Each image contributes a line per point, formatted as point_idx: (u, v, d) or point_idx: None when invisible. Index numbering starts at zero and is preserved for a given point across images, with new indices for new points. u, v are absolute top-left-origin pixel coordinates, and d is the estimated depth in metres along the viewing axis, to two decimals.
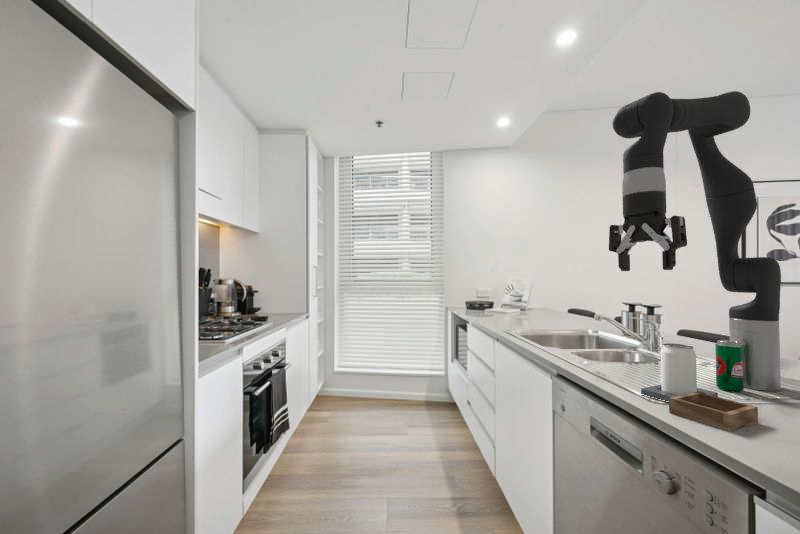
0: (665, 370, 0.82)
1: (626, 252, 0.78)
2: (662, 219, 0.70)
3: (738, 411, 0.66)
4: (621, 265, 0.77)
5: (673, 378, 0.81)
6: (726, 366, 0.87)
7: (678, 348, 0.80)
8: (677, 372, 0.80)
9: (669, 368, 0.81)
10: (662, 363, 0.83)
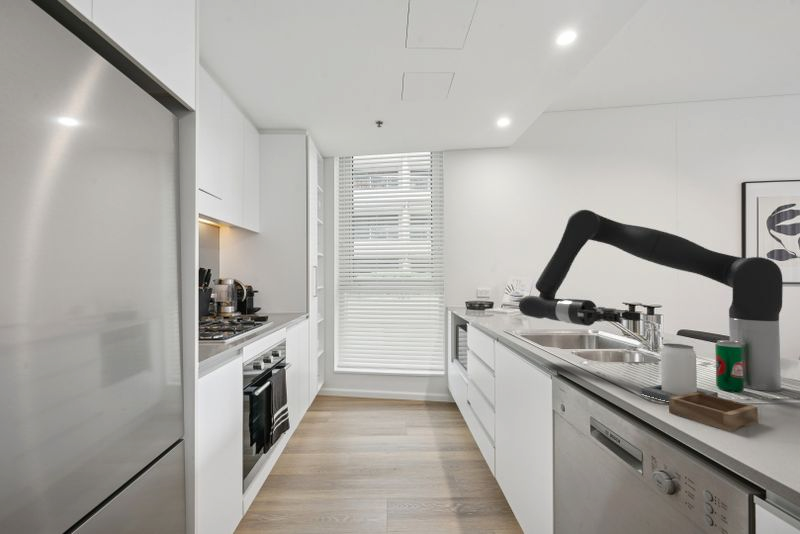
0: (665, 370, 0.82)
1: (624, 314, 0.98)
2: None
3: (738, 411, 0.66)
4: (635, 320, 0.96)
5: (673, 378, 0.81)
6: (726, 366, 0.87)
7: (678, 348, 0.80)
8: (677, 371, 0.80)
9: (669, 368, 0.81)
10: (662, 363, 0.83)
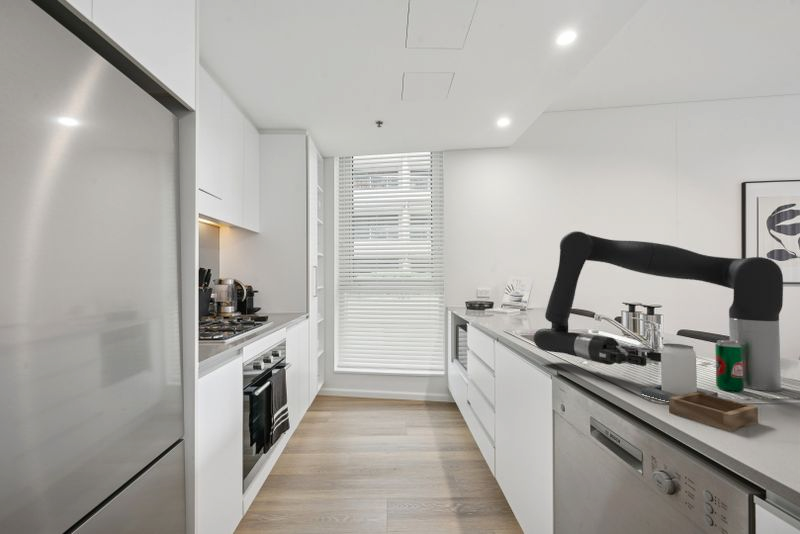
0: (665, 370, 0.82)
1: (649, 354, 0.92)
2: None
3: (738, 411, 0.66)
4: None
5: (673, 378, 0.81)
6: (726, 366, 0.87)
7: (678, 348, 0.80)
8: (677, 371, 0.80)
9: (669, 368, 0.81)
10: (662, 363, 0.83)
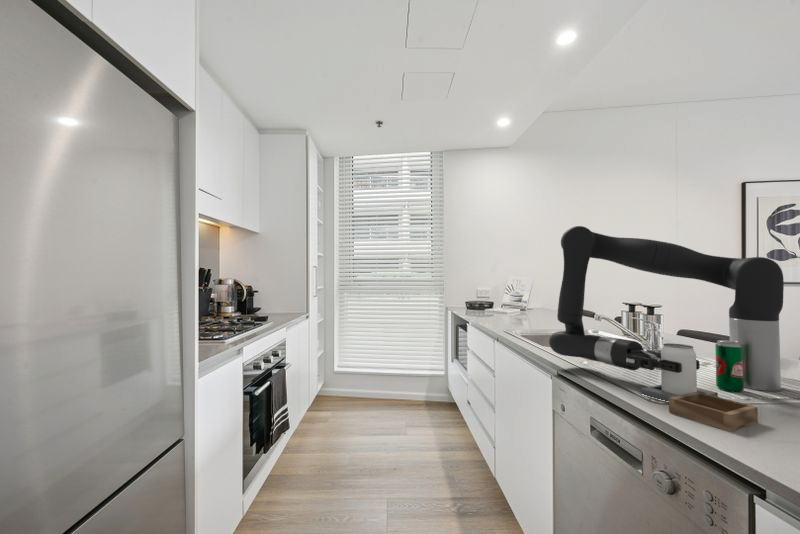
0: (665, 370, 0.82)
1: None
2: None
3: (738, 411, 0.66)
4: None
5: (673, 378, 0.80)
6: (726, 366, 0.87)
7: (678, 348, 0.80)
8: None
9: None
10: None
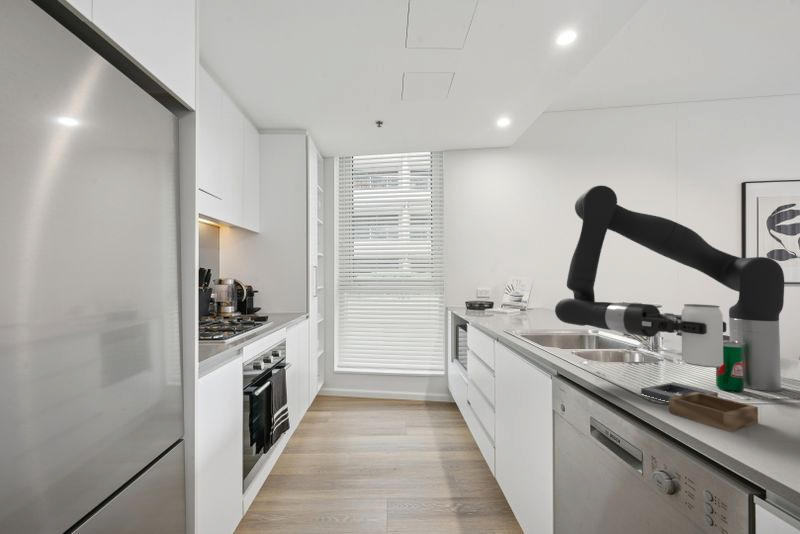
0: (686, 332, 0.73)
1: None
2: None
3: (738, 411, 0.66)
4: None
5: (696, 341, 0.71)
6: (726, 366, 0.87)
7: (702, 307, 0.71)
8: None
9: None
10: None
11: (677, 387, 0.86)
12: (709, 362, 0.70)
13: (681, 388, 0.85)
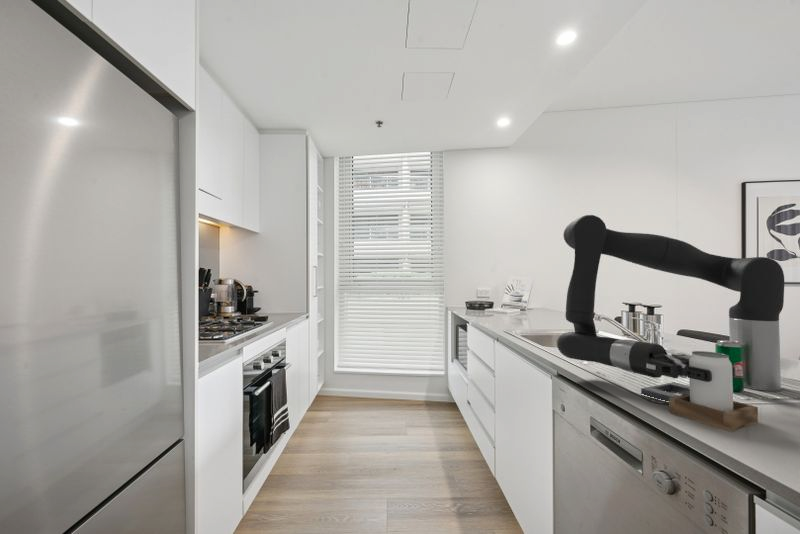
0: (695, 382, 0.70)
1: None
2: None
3: (738, 411, 0.66)
4: None
5: (705, 393, 0.69)
6: None
7: (711, 357, 0.69)
8: (710, 385, 0.68)
9: (700, 380, 0.69)
10: None
11: (677, 387, 0.86)
12: None
13: (681, 388, 0.85)
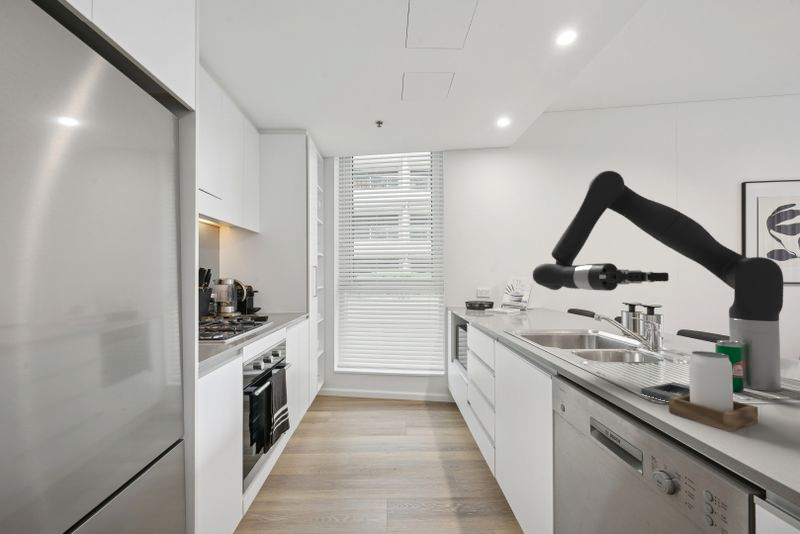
0: (695, 382, 0.70)
1: (649, 275, 0.91)
2: None
3: (738, 411, 0.66)
4: None
5: (705, 393, 0.69)
6: None
7: (711, 357, 0.69)
8: (710, 385, 0.68)
9: (700, 380, 0.69)
10: (691, 374, 0.71)
11: (677, 387, 0.86)
12: None
13: (681, 388, 0.85)
